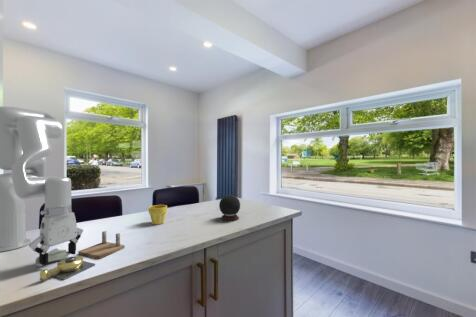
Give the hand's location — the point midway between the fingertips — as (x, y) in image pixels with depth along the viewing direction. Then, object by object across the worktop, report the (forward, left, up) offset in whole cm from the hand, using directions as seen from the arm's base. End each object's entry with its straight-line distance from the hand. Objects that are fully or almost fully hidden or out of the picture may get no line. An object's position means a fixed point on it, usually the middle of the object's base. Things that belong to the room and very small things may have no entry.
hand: (58, 258), depth 80 cm
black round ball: (+36, +75, -2) cm, 83 cm away
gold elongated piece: (+10, -4, -1) cm, 11 cm away
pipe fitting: (-2, 0, -2) cm, 3 cm away
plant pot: (0, +52, -2) cm, 52 cm away
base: (+10, -2, -1) cm, 10 cm away
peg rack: (+6, +13, -1) cm, 14 cm away
